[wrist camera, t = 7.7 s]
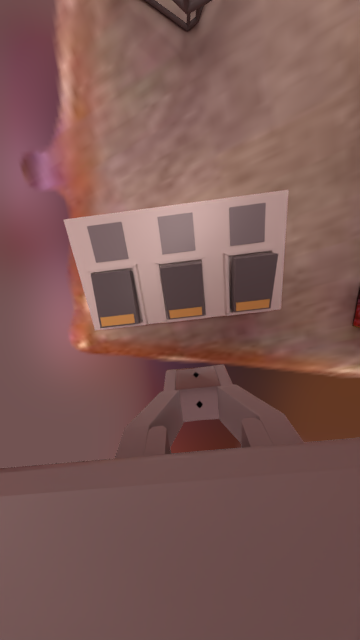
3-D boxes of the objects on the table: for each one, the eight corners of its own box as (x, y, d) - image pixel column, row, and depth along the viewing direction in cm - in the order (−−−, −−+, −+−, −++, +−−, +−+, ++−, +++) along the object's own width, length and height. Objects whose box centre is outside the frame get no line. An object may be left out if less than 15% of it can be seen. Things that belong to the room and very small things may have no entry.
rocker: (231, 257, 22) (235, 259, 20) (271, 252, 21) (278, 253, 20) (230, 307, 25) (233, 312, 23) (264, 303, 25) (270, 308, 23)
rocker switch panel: (79, 225, 25) (57, 217, 20) (273, 200, 24) (294, 185, 20) (104, 322, 29) (91, 332, 25) (268, 304, 29) (285, 311, 24)
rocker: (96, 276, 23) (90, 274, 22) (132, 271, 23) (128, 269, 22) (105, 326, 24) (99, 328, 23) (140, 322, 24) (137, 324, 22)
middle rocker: (160, 265, 22) (159, 268, 20) (199, 260, 22) (201, 263, 20) (168, 314, 25) (168, 320, 24) (202, 310, 25) (204, 315, 24)
